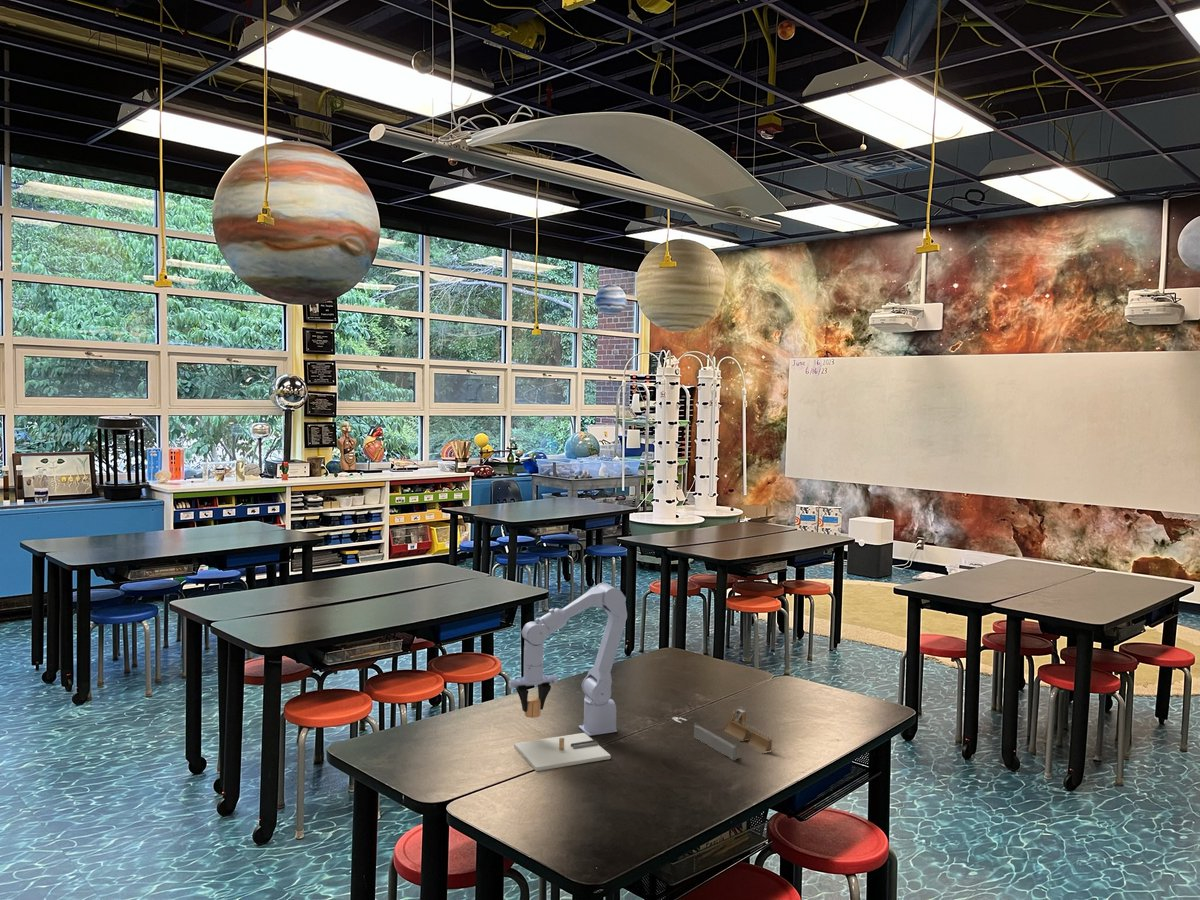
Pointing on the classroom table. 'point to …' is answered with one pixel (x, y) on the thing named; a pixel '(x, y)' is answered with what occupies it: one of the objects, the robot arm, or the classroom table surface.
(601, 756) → the plate
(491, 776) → the classroom table surface
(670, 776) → the classroom table surface
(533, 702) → the wire nut
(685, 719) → the paper
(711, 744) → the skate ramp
